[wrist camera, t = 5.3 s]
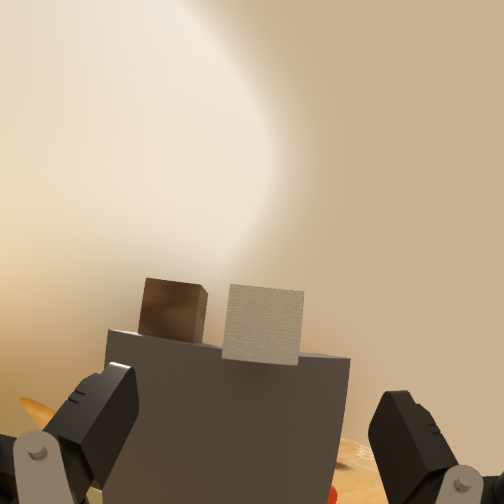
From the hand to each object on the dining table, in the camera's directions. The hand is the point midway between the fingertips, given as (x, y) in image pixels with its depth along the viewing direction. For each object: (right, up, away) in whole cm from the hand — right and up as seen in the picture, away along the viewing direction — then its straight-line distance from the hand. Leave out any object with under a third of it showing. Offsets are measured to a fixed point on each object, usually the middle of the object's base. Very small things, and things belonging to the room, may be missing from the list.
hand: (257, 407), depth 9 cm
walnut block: (-8, -3, +18) cm, 20 cm away
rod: (0, -3, +16) cm, 17 cm away
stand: (-5, -34, +8) cm, 35 cm away
